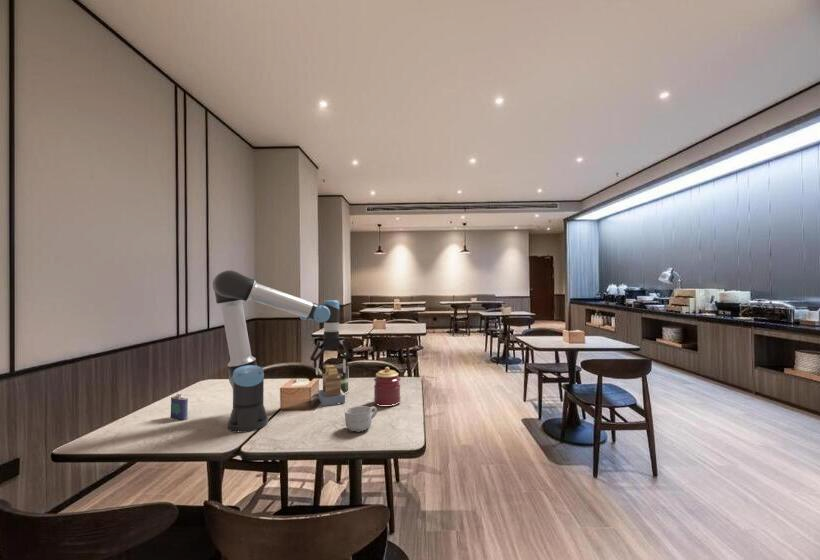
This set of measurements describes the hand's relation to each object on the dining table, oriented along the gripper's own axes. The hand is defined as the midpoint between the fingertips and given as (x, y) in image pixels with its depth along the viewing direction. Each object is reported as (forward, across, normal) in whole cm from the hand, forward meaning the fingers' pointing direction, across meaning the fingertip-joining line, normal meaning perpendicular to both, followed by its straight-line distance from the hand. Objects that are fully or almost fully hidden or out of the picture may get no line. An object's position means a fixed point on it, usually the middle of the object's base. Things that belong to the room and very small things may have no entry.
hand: (330, 373), depth 181 cm
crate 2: (+1, 0, +4) cm, 4 cm away
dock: (+14, -1, 0) cm, 14 cm away
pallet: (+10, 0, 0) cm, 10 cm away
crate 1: (+1, 0, -4) cm, 4 cm away
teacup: (+14, -7, +41) cm, 44 cm away
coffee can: (+14, -7, -14) cm, 21 cm away
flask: (+15, +65, 0) cm, 67 cm away
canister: (+14, -26, +14) cm, 32 cm away
